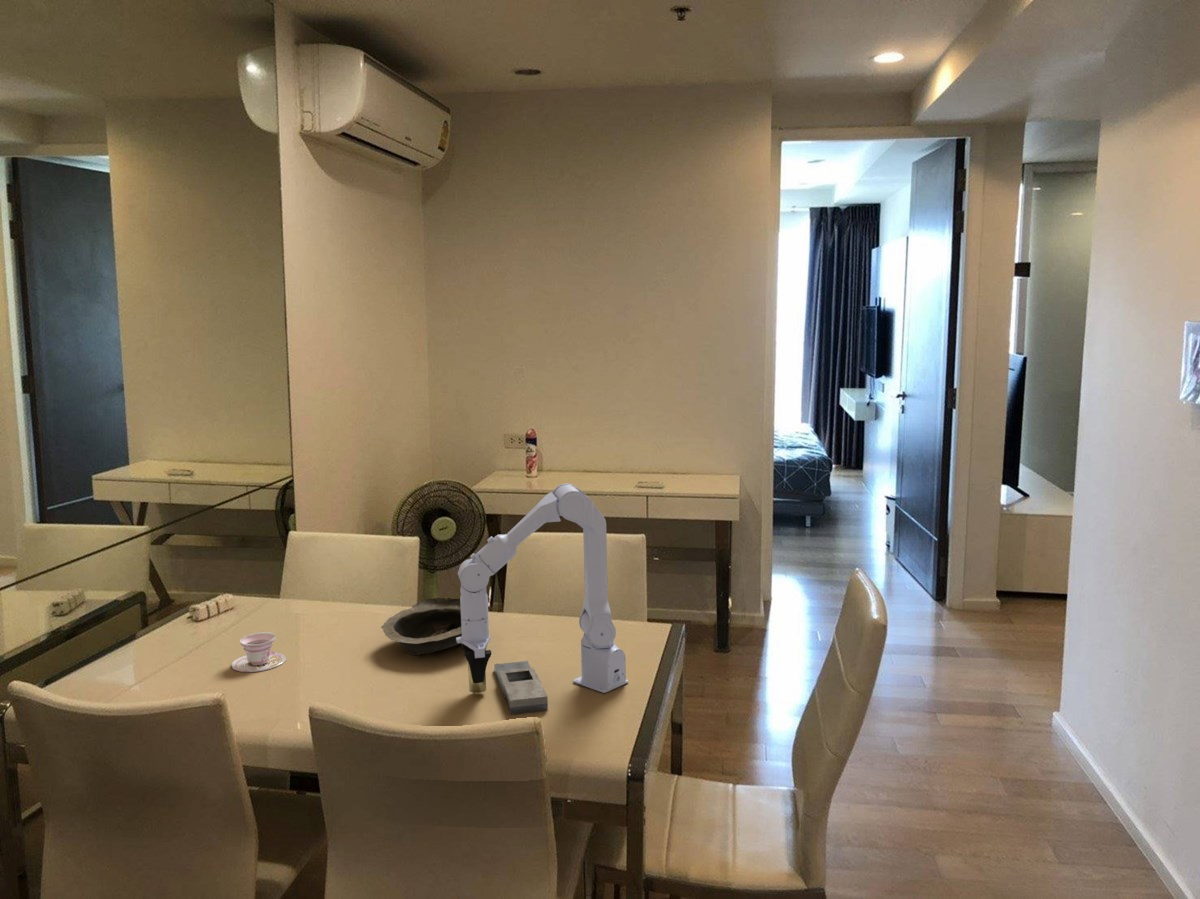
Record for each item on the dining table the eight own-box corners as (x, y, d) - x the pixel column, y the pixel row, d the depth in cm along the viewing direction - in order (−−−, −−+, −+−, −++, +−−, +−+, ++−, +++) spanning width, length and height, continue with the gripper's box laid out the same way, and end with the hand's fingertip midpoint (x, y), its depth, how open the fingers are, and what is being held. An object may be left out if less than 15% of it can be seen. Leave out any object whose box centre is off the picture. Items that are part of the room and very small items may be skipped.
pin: (489, 689, 196) (488, 653, 195) (476, 694, 194) (475, 657, 192) (478, 684, 199) (477, 649, 197) (465, 689, 196) (464, 653, 195)
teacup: (268, 674, 209) (266, 648, 208) (220, 671, 211) (218, 645, 211) (295, 655, 221) (293, 630, 220) (249, 652, 223) (248, 628, 222)
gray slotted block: (494, 670, 209) (494, 658, 209) (527, 667, 211) (527, 654, 210) (510, 714, 186) (510, 700, 186) (547, 710, 188) (547, 696, 187)
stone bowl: (495, 628, 237) (494, 594, 234) (472, 673, 212) (471, 636, 210) (401, 625, 239) (399, 591, 237) (368, 669, 215) (365, 632, 213)
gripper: (452, 608, 200) (454, 668, 202) (458, 630, 186) (461, 694, 188) (484, 604, 201) (487, 664, 203) (493, 626, 187) (496, 690, 190)
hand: (477, 678), depth 196 cm, fingers closed on pin, 4 cm apart
